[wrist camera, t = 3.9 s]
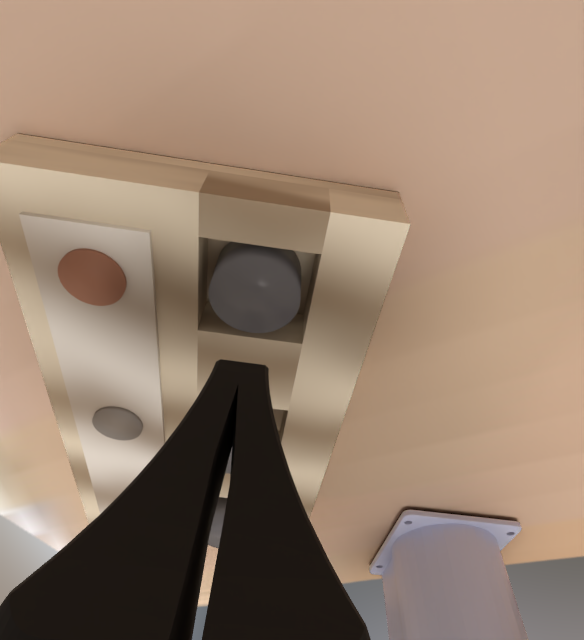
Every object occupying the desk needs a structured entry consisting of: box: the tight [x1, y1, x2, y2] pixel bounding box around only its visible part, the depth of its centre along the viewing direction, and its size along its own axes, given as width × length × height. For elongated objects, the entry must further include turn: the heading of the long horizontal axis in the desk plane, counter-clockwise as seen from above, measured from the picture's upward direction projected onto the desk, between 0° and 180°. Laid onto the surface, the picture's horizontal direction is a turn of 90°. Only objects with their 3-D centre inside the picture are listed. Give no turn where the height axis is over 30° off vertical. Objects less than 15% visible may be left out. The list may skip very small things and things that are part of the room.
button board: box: [0, 134, 410, 524], centre depth 21 cm, size 23×13×3 cm, turn 172°
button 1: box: [209, 242, 301, 333], centre depth 16 cm, size 3×3×2 cm
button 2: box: [208, 497, 227, 548], centre depth 25 cm, size 3×3×2 cm
